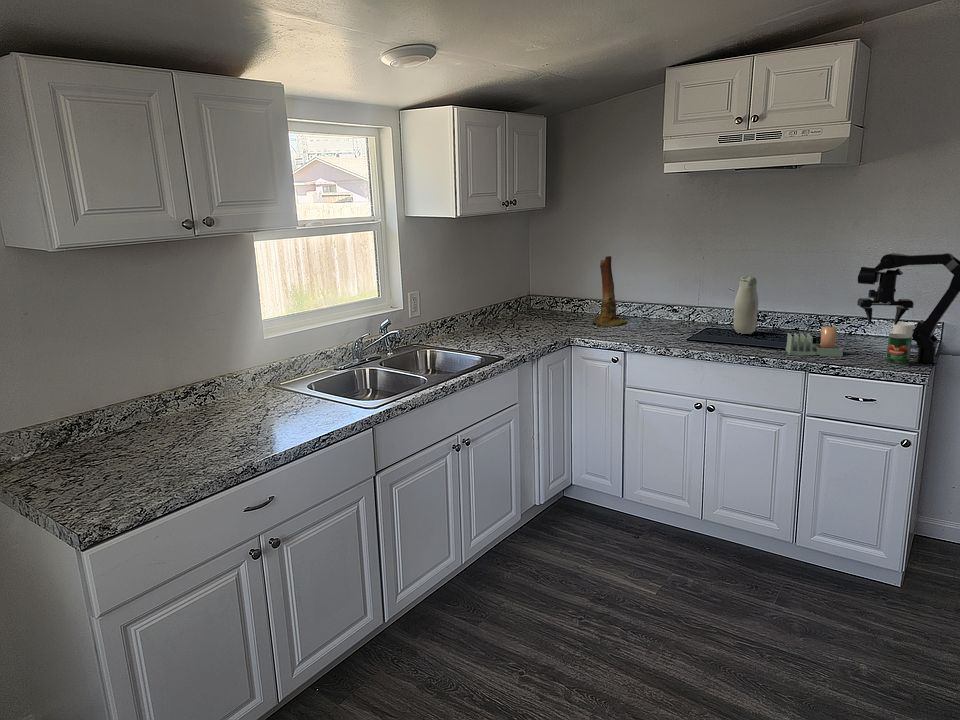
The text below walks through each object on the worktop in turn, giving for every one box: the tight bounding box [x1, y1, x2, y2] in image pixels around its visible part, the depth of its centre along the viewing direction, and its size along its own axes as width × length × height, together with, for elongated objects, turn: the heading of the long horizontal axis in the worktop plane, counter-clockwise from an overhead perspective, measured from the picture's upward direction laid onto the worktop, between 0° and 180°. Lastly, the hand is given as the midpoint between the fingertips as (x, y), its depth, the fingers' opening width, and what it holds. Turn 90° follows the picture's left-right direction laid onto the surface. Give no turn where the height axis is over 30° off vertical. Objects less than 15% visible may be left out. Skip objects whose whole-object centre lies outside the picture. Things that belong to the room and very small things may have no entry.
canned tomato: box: [885, 333, 913, 367], centre depth 266 cm, size 8×8×11 cm
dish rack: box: [785, 332, 844, 357], centre depth 286 cm, size 10×20×8 cm, turn 76°
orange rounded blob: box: [819, 325, 838, 349], centre depth 284 cm, size 6×6×11 cm
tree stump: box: [592, 255, 628, 327], centre depth 359 cm, size 20×16×35 cm
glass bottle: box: [733, 274, 759, 335], centre depth 324 cm, size 10×10×28 cm
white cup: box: [892, 321, 916, 339], centre depth 293 cm, size 8×8×10 cm
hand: (882, 324), depth 276 cm, fingers open, 9 cm apart
